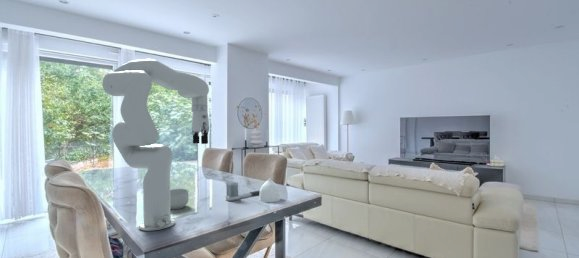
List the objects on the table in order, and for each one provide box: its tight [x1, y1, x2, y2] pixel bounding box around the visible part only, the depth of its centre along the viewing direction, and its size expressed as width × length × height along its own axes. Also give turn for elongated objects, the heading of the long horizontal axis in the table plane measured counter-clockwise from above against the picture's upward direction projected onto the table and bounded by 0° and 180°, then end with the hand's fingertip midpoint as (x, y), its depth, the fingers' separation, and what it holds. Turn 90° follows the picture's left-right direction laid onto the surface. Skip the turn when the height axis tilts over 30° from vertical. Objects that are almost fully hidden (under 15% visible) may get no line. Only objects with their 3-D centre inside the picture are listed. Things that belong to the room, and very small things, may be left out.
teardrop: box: [258, 177, 281, 203], centre depth 147 cm, size 11×11×12 cm
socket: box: [225, 181, 239, 197], centre depth 148 cm, size 4×4×7 cm
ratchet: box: [225, 189, 260, 202], centre depth 153 cm, size 7×23×5 cm, turn 132°
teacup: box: [170, 188, 189, 210], centre depth 134 cm, size 14×11×8 cm
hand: (200, 143), depth 139 cm, fingers open, 9 cm apart
